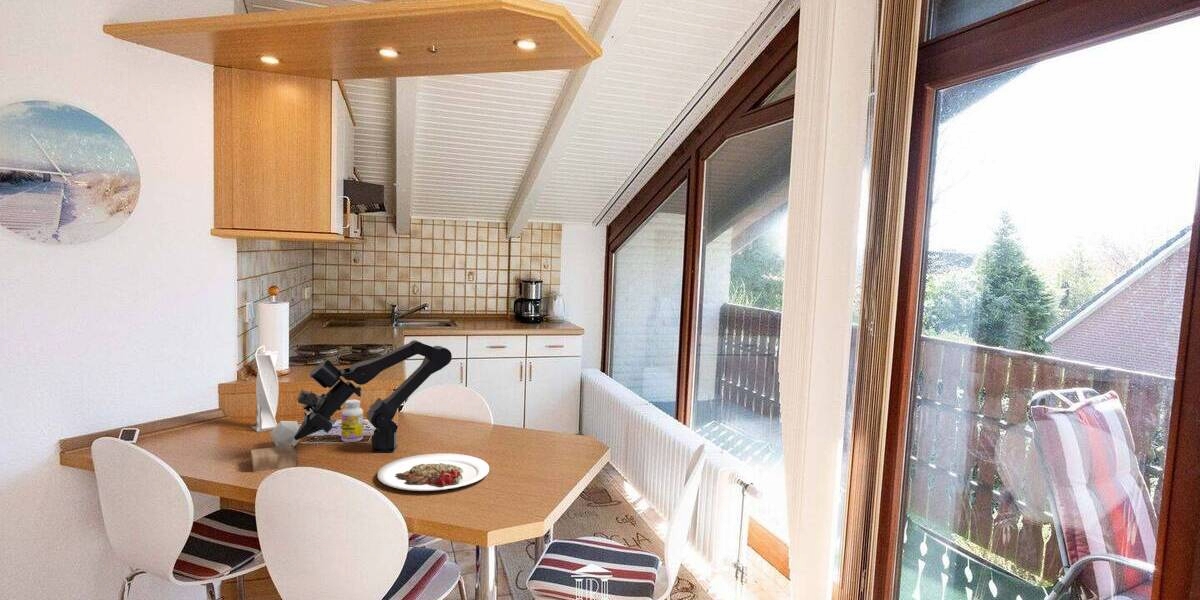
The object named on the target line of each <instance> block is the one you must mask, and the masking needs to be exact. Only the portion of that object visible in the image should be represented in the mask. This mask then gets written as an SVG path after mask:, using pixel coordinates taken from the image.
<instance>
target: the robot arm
mask: <svg viewBox="0 0 1200 600" xmlns="http://www.w3.org/2000/svg"><path fill="white" fill-rule="evenodd" d="M416 355H419V356H422V357H424V358H423V360H422V362H421V363H420V365H419V366H418V367H417V368H416V369H415V370H414V371H413V372H412V373H411V375H409V376H408V377H407V378H406V379H405V380H404V381H403V382H402V383H401V384H400V385H399V386H398V387H397V388H396V389H395V390H394V391H393V392H392V393H391V394H390V395H389V396H388V397H386V398H384V399H381V398H380V397H378V398H377V399H376V400H375V401H374V402H373V403H372V404H371V405H369V406H368V408H369V409H368V411H367V413H366V418H367V421H368V422H369V423H370V424H371V425H372V426H373V427H374V430H373V434H372V435H371V449H372V450H371V452H372V453H394V452H395V451H396V450H397V448H398V447H399V445H398V444H397V431H398V428H399V426H398V424H397V423H396V422H394V421H393V419H394V417H395V416H396V415H397V414H396V413H397V411H398V410H399V408H400V407H401V405H403V404H404V402H406V400H408V398H410V396H412V395H413V394H414V392H415V391H416V390H418V388H420V386H421V385H423V383H425V381H427V379H428V378H429V377H430V376H431V375H433V374H435V373H437V372H438V371H440V370H443V369H444V368H445V367H447V366H448V365H449V364H450V363H451V361H452V360H453V355H452V352H451V351H450V350H449V349H448V348H446V347H444V346H441V345H434V346H432V345H429V344H426V343H422V342H421V341H418V340H416V339H415V340H414V339H413V340H411V341H410V342H408V343H405V344H404V345H402V346H399V347H398V348H397V347H396V349H393V350H391V351H389V352H386V353H384V354H383V355H381V356H379V357H376V358H372V359H366V360H363V361H359V362H355V363H353V364H352V365H350V366H349V367H345V368H341V369H338V368H337V367H336V366H335V365H334V364H333V363H332V361H331V360H329V359H328V358H326V359H325V360H324V361H322V362H321V363H319V364H318V365H316V366H315V367H314V368H313V369H312V370H311V371H310V373H309V377H310V378H311V379H312V380H314V381H315V382H316V383H317V384H318V385H319V386H321V387H322V388H323V389H326V388H329V391H328V392H326V393H325V392H324V393H321V394H320V395H317V394H316V393H314V392H312V391H307V390H303V389H302V390H300V392H299V394H298V396H297V397H296V401H297V402H298V403H299V404H302V408H303V409H304V410H306V411H307V412H304V411H303V421H302V423H301V424H300V425H299V427H300V428H299V429H298V431H297V433H296V434H295V436H294V439H295V440H299V439H300V440H301V439H302V438H305V437H308V436H310V435H312V434H315V433H317V432H319V431H320V432H321V431H324V432H325V433H326V434H328V433H329V432H330V431H331V430H332V429H333V423H332V421H331V420H332V416H333V415H335V413H336V412H337V411H341V410H343V409H342V406H343V405H345V402H346V401H347V400H350V398H351V397H352V396H353V395H354V394H355V395H356V396H357V397H359V398H361V396H362V393H361V392H362V391H361V390H362V387H361V386H362V385H366V384H367V383H369V382H371V381H372V380H373V379H375V378H376V377H377V376H378V375H379V374H380V373H382V372H383V371H385V370H387V369H389V368H391V367H394V366H395V365H398V364H399V363H402V362H404V361H405V360H408V359H410V358H411V357H414V356H416ZM341 377H342V378H344V379H345V380H346V381H344V380H343V379H342V378H341ZM354 383H355V384H356V385H358V386H356V385H355V384H354ZM300 440H299V441H300Z"/></svg>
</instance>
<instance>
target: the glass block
mask: <svg viewBox="0 0 1200 600" xmlns="http://www.w3.org/2000/svg"><path fill="white" fill-rule="evenodd" d="M250 461H251V462H250V463H251V468H252V471H253V473H257V472H256V471H259V472H266V471H274V470H281V469H286V467H289V468H295V467H294V466H296V467H298V452H297V450H296V448H295V446H293V445H287V446H279V447H276V446H273V447H264V448H255V449H251V450H250Z"/></svg>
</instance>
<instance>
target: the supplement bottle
mask: <svg viewBox="0 0 1200 600" xmlns="http://www.w3.org/2000/svg"><path fill="white" fill-rule="evenodd" d="M344 406H345V408H343V409H341V410H342V411H341V438H340V439H341V441H342V442H345V443H356V442H360V441H362V440H363V438H364V409H363V408H362V407H360V406H361V400H359V399H348V400H347V401H346V402H345V403H344Z"/></svg>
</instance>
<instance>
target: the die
mask: <svg viewBox="0 0 1200 600" xmlns="http://www.w3.org/2000/svg"><path fill="white" fill-rule="evenodd" d="M299 428H300V425H299V422H298V421H297V420H280V421H279V422H278V423H277V426H276V427H275V428H274V429H273V430H270V432H269V435H270V437H271V438H272V441H273V443H274V447H279V446H287V445H293V446H294V447H295V446H296V445H297V443H299V441H300V440H301V439H299V440H295V439H294V436H295V434H296V433H297V431H298V429H299Z"/></svg>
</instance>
